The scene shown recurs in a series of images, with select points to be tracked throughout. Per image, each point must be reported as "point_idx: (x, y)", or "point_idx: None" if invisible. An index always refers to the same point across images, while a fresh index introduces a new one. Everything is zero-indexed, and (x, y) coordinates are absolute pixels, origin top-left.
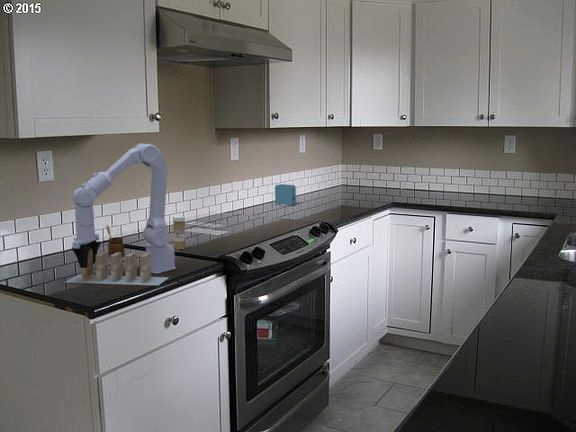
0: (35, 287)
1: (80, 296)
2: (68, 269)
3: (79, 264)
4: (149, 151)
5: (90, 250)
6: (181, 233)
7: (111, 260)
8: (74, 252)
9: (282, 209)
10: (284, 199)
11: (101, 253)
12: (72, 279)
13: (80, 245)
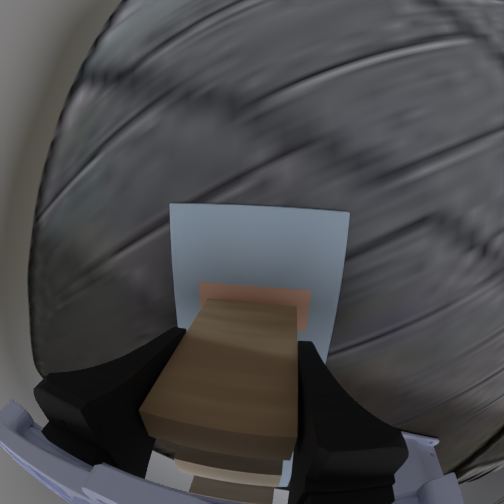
0: (102, 106)
1: (63, 337)
2: (465, 101)
3: (160, 336)
4: None
5: (247, 452)
6: None
7: (195, 475)
8: (77, 374)
9: None
10: None
11: (233, 476)
12: (230, 223)
13: (66, 458)
